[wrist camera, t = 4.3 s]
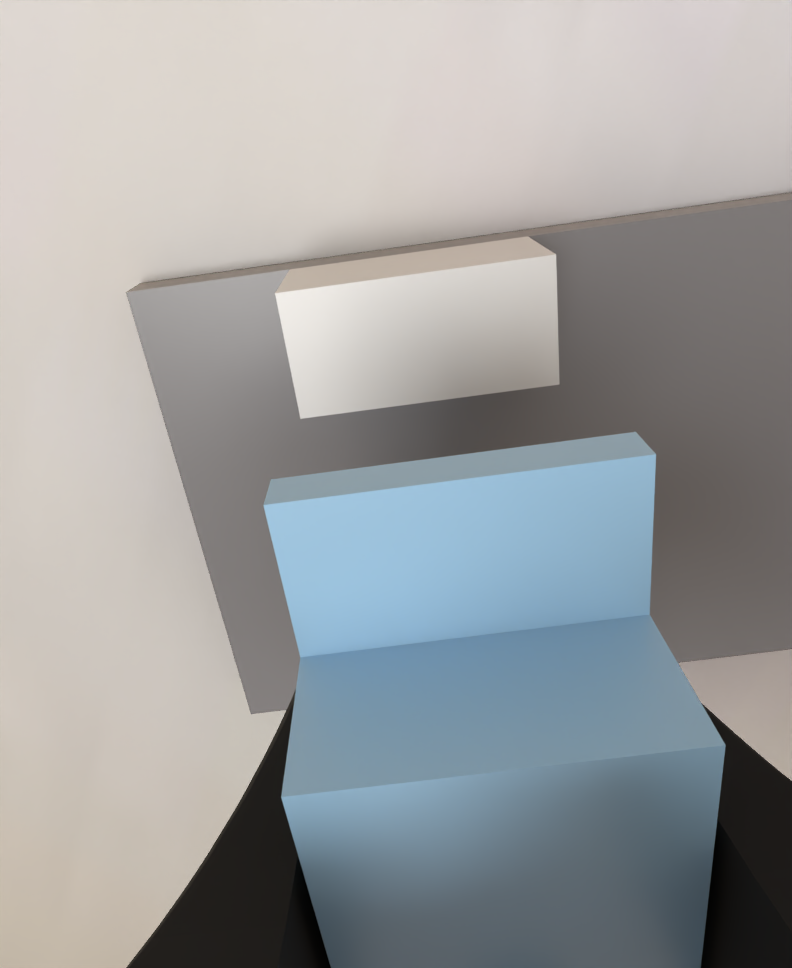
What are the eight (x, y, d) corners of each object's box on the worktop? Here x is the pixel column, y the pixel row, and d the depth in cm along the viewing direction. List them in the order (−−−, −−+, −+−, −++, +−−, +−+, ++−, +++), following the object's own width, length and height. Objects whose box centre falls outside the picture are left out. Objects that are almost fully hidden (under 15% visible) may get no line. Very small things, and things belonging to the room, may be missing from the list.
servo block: (575, 363, 10) (788, 602, 5) (582, 837, 14) (697, 1218, 9) (293, 402, 10) (213, 673, 5) (387, 860, 14) (396, 1247, 9)
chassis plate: (1051, 156, 15) (1228, 161, 12) (933, 607, 20) (1034, 692, 17) (140, 283, 16) (81, 319, 13) (256, 689, 21) (235, 786, 18)
